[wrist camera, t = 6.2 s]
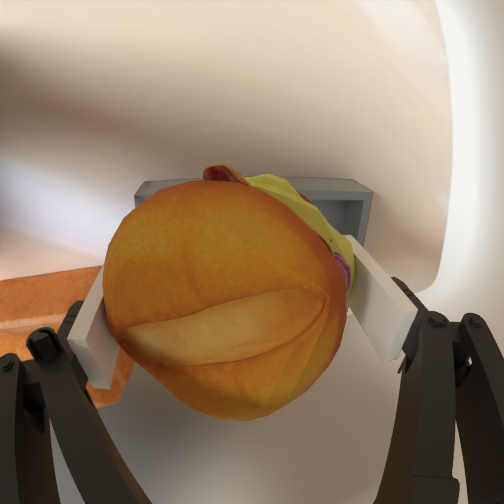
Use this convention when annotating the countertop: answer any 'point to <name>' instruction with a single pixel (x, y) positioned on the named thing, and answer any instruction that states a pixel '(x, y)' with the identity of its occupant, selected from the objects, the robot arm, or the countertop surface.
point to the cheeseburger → (229, 291)
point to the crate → (318, 193)
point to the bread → (52, 318)
